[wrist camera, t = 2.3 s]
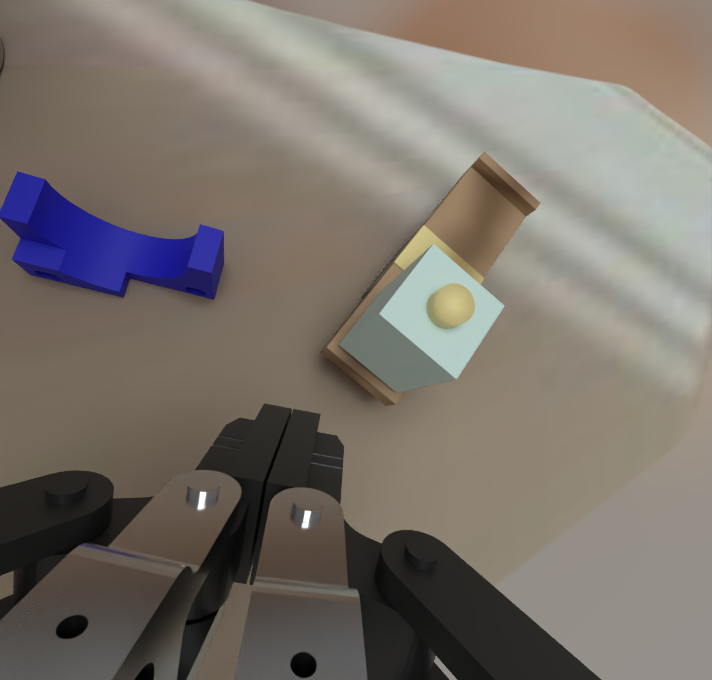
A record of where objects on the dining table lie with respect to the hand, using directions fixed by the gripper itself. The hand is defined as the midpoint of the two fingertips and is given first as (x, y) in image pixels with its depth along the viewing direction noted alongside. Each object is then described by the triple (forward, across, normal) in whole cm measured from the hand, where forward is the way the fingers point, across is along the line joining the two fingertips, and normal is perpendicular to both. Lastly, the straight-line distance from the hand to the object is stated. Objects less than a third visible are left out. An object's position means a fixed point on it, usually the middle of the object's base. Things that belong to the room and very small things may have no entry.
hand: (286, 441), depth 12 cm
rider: (+18, -4, +1) cm, 19 cm away
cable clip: (+22, +15, 0) cm, 27 cm away
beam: (+27, -6, -1) cm, 28 cm away
